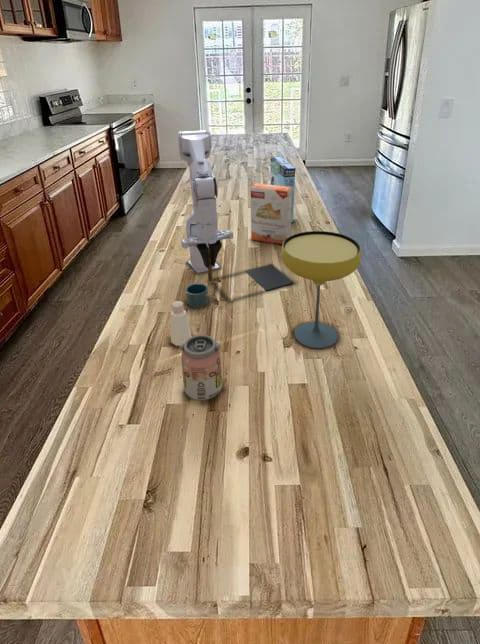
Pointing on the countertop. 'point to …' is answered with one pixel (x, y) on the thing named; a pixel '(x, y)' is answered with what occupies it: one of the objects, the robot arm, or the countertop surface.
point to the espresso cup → (197, 295)
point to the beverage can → (201, 367)
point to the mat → (269, 277)
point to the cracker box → (270, 213)
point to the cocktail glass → (320, 273)
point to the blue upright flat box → (283, 176)
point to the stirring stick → (210, 268)
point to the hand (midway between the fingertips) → (209, 265)
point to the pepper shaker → (179, 324)
